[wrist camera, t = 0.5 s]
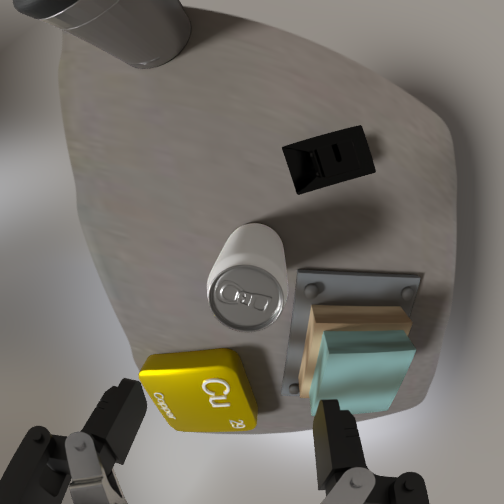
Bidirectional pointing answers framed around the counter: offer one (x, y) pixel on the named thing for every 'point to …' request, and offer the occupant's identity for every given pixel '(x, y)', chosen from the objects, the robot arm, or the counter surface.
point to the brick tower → (350, 338)
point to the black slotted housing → (329, 159)
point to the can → (249, 279)
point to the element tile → (201, 390)
